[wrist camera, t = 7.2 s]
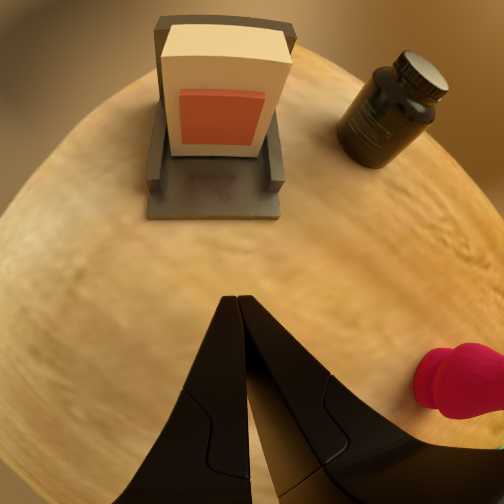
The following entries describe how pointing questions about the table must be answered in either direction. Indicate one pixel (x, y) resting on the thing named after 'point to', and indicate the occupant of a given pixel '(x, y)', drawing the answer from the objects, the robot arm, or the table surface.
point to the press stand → (213, 167)
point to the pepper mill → (461, 381)
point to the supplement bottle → (391, 110)
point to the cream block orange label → (222, 87)
